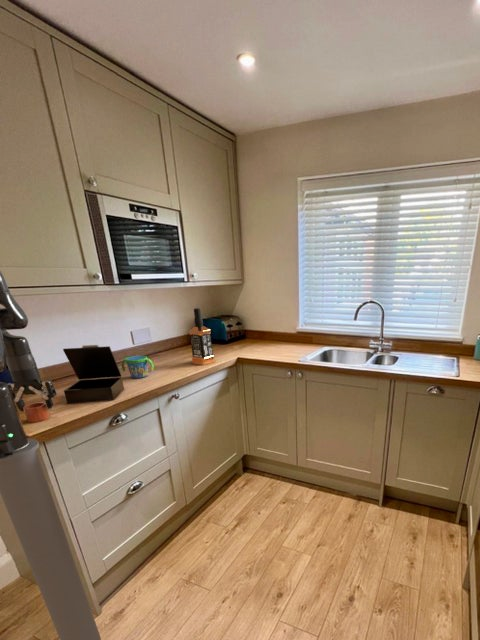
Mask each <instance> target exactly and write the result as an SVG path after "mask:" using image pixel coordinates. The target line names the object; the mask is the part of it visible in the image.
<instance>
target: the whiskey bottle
mask: <svg viewBox="0 0 480 640" xmlns="http://www.w3.org/2000/svg"><path fill="white" fill-rule="evenodd" d="M193 314H194V321H193V322H194V327H192V328H191V329H189V330H188V333H189V336H190V345H191V353H192V356H191V362H192V364H194V365H200V366H206V365H209V364H212V363H215V362H216V361H215V355H214V351H213V344H212V336H211V329H210V328H209V327H206V326H205V325H204V321H203V317H202V311H201V308H199V307H197V308H196V307H195V308H193Z"/></svg>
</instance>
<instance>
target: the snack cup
mask: <svg viewBox="0 0 480 640" xmlns="http://www.w3.org/2000/svg"><path fill="white" fill-rule="evenodd" d="M125 363H126V366H127V369H128V371H129V374H130V376H131V378H132V379H142V378H145V377H148V363H149V364H150V367H151V368H150V370H151V371H154V368H155V366H154V362H153V361H152V360H151V359H150V358H148V356H146V355H135V356H133V355H132V356H128V357H125V358H124V359H123V360H122V361H121V370H122V371H123V372H125V371H126V366H125Z"/></svg>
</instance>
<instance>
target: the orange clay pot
mask: <svg viewBox="0 0 480 640" xmlns="http://www.w3.org/2000/svg"><path fill="white" fill-rule="evenodd" d="M23 409H24V411H23V413H24V415H25V418H26V421H27V422H28V423H40V422H43V421H46V420H48V419H49V418H50V413H49V409H47V406H46V403H45V401H43V402H42V401H40V402H39V401H38V402H32V403H29V404H25V406H24V407H23Z"/></svg>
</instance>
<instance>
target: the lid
mask: <svg viewBox="0 0 480 640" xmlns="http://www.w3.org/2000/svg"><path fill="white" fill-rule="evenodd" d="M62 351H63V353H64V355H65V356H66V359H67V360H68V363H69V364H70V366H71V368H72V369H73V372H74V373H75V375H76V377H77V379H78V381H79V380H87V379H101V378H116V377H122V376H123V375H122V373H121V371H120V368H119V366H118V363H117V361H116V358H115V356H114V354H113V351H112V348H111V346H107V345H106V346H100V345H99V344H88V345H82V347H71V348H70V347H69V348H63V349H62Z"/></svg>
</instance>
